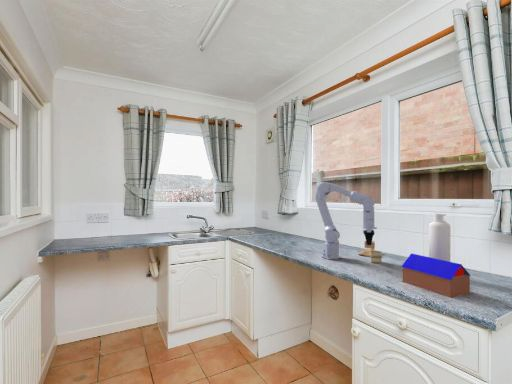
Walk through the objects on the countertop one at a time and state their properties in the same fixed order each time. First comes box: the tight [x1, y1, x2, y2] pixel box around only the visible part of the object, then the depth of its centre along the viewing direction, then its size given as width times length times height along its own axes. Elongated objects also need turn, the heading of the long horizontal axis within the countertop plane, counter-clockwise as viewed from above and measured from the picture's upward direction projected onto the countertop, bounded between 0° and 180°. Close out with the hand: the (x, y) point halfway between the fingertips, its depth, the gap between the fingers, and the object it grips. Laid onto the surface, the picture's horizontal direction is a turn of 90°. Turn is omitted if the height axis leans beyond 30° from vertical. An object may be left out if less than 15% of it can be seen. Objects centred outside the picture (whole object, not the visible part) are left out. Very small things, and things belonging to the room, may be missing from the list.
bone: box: [357, 248, 377, 258], centre depth 171 cm, size 10×10×15 cm
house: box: [401, 253, 472, 299], centre depth 110 cm, size 12×20×12 cm, turn 23°
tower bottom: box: [370, 257, 382, 265], centre depth 151 cm, size 5×5×3 cm
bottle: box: [428, 213, 451, 262], centre depth 125 cm, size 8×8×28 cm
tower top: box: [370, 250, 382, 260], centre depth 151 cm, size 5×5×3 cm
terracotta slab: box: [364, 240, 376, 249], centre depth 152 cm, size 5×5×3 cm
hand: (368, 244), depth 152 cm, fingers closed on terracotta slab, 5 cm apart
